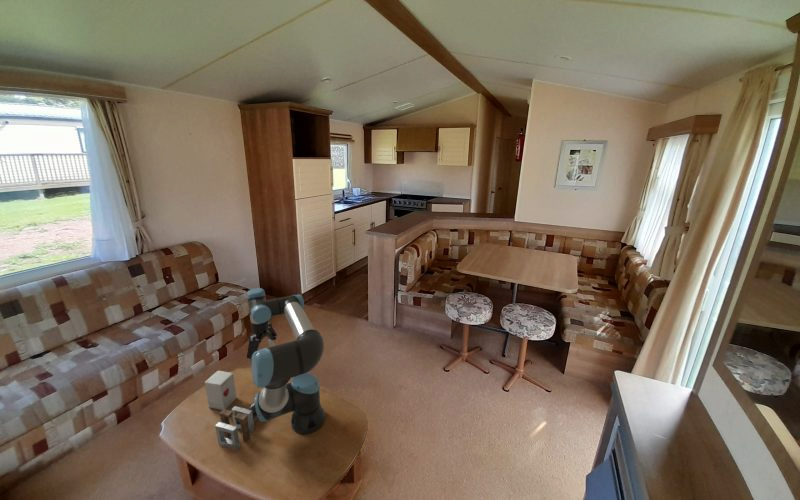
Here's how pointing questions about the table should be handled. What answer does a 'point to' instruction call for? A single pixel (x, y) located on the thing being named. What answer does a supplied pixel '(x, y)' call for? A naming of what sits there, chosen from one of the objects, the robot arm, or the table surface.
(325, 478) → the table surface
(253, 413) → the tube
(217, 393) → the supplement box
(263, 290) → the robot arm
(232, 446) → the collar
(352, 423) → the table surface
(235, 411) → the collar
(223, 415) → the aperture bridge
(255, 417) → the rail
